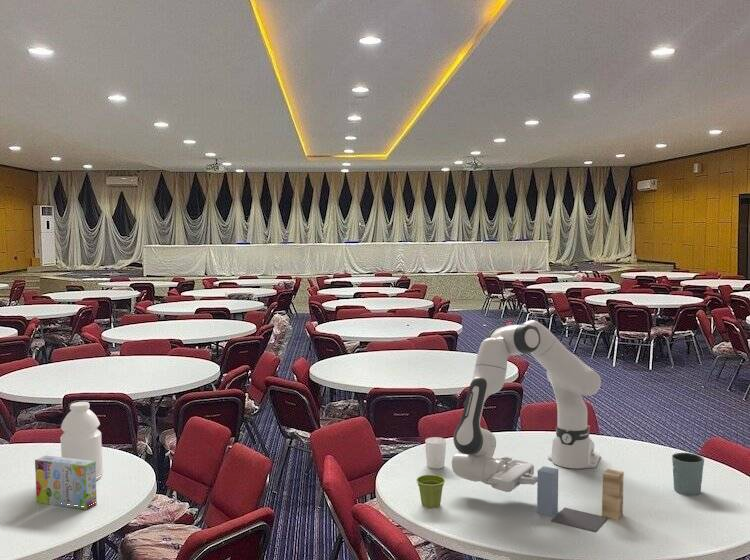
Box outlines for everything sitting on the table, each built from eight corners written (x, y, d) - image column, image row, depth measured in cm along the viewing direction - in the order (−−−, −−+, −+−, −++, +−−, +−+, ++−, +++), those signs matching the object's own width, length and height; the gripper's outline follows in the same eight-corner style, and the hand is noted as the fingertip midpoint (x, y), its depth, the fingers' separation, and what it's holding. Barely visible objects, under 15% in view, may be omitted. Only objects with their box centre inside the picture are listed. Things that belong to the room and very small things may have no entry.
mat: (564, 508, 234) (564, 507, 234) (607, 518, 226) (607, 517, 226) (550, 521, 224) (550, 520, 224) (595, 531, 216) (595, 531, 216)
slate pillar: (543, 507, 235) (543, 466, 234) (557, 511, 232) (558, 469, 231) (537, 513, 231) (537, 470, 230) (552, 516, 228) (552, 473, 227)
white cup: (444, 469, 271) (444, 444, 270) (423, 468, 273) (423, 442, 272) (446, 463, 279) (446, 437, 278) (426, 461, 280) (426, 436, 280)
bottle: (53, 482, 261) (50, 406, 259) (82, 469, 274) (79, 397, 272) (83, 487, 256) (80, 410, 254) (111, 474, 269) (108, 400, 267)
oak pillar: (606, 511, 232) (607, 468, 231) (622, 514, 229) (623, 471, 228) (602, 516, 228) (602, 473, 227) (617, 520, 225) (618, 476, 224)
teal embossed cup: (703, 488, 251) (704, 454, 250) (703, 498, 242) (704, 463, 241) (671, 484, 255) (672, 451, 254) (670, 493, 246) (671, 459, 245)
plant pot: (437, 513, 231) (437, 486, 231) (411, 507, 236) (411, 481, 236) (449, 503, 239) (449, 477, 238) (424, 497, 244) (424, 472, 243)
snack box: (98, 504, 241) (96, 460, 239) (86, 510, 235) (84, 465, 234) (47, 496, 248) (45, 454, 246) (35, 503, 242) (33, 459, 241)
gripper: (482, 472, 232) (523, 481, 224) (509, 455, 249) (548, 462, 241) (482, 491, 233) (522, 500, 225) (509, 473, 249) (547, 481, 241)
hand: (536, 481), depth 233 cm, fingers closed
